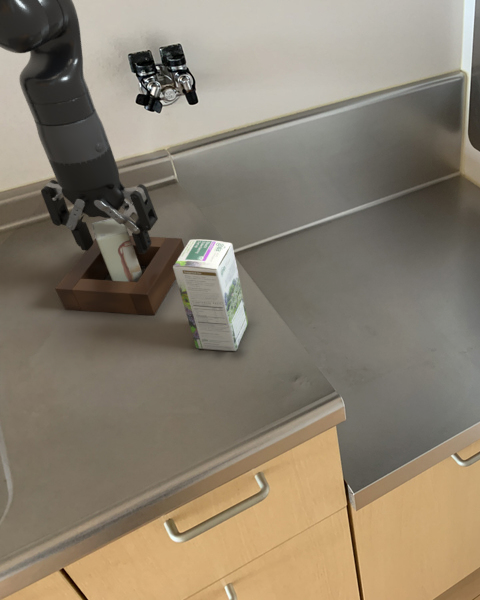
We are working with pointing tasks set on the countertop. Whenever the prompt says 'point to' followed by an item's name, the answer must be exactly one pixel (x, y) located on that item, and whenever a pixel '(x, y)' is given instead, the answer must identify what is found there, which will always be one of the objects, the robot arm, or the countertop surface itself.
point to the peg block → (119, 294)
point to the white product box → (117, 250)
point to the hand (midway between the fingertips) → (116, 248)
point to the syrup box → (212, 294)
